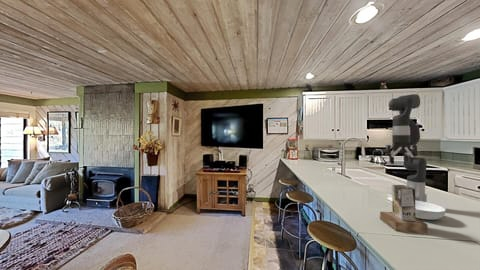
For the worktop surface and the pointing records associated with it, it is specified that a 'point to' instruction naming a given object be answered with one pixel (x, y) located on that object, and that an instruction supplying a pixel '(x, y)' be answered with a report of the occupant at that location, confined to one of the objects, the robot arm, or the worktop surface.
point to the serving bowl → (428, 211)
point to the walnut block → (403, 223)
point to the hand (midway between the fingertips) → (400, 164)
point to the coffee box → (403, 202)
